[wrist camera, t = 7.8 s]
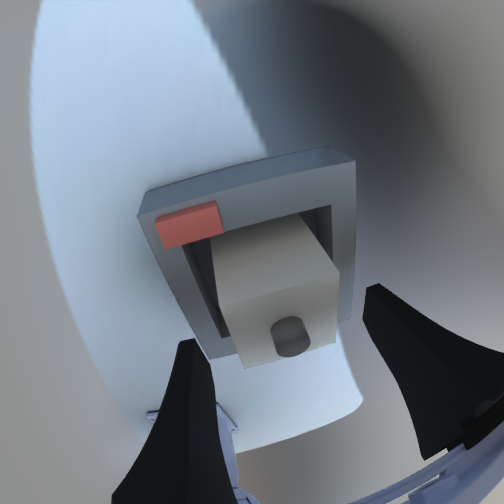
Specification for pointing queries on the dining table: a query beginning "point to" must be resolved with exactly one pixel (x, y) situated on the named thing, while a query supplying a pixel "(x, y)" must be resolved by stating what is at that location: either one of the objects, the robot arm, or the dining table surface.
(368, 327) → the robot arm
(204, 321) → the socket plate
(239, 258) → the plug
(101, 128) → the dining table surface
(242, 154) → the dining table surface
